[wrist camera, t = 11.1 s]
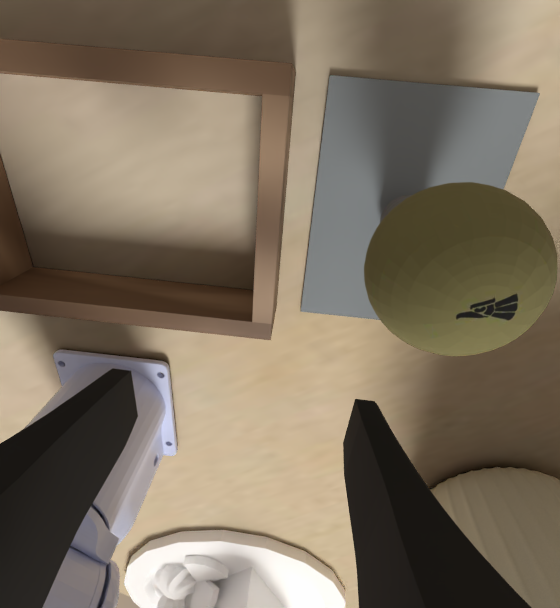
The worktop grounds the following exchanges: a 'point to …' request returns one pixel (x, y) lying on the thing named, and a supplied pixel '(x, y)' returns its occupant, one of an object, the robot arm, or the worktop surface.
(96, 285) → the walnut box
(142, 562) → the dish
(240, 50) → the worktop surface
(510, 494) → the canister
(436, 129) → the pad
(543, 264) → the light bulb
